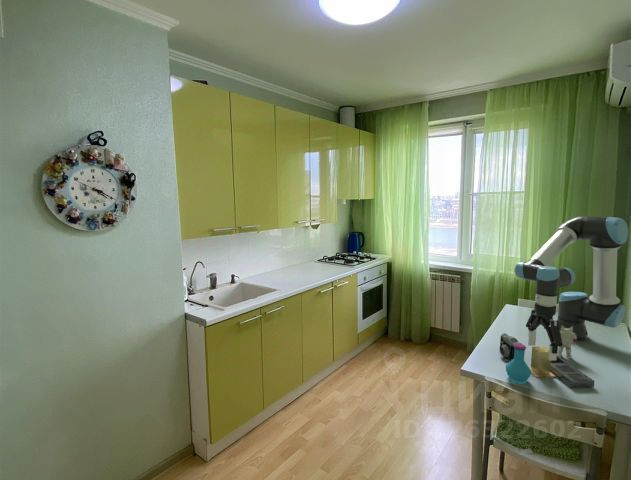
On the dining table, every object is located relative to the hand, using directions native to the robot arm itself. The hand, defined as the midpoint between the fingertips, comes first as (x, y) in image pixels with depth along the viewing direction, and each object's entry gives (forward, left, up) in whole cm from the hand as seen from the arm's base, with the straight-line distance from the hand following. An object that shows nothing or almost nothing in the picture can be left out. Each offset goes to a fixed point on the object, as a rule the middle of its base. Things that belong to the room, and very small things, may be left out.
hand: (541, 352), depth 147 cm
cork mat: (0, 0, -9) cm, 9 cm away
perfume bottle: (+12, +5, -9) cm, 16 cm away
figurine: (-20, -14, -9) cm, 26 cm away
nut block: (0, 0, -9) cm, 9 cm away
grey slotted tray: (-9, +1, -9) cm, 13 cm away
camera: (+6, -15, -10) cm, 18 cm away
